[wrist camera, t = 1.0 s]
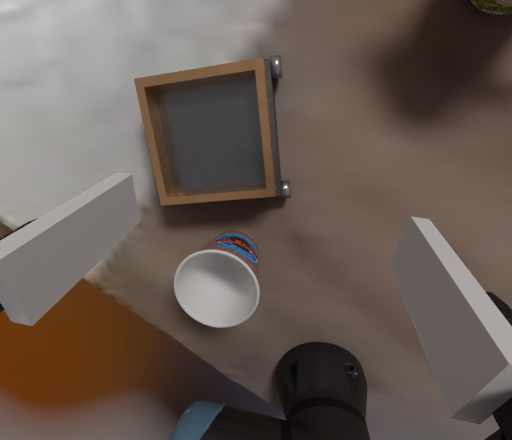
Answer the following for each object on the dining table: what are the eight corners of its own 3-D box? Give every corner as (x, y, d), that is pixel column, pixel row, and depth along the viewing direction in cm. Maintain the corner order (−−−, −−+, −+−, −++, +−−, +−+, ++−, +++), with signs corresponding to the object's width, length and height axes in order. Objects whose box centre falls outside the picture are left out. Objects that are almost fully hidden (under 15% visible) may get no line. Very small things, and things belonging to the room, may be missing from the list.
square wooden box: (290, 194, 38) (290, 204, 32) (179, 203, 41) (159, 214, 35) (280, 60, 33) (278, 42, 27) (155, 80, 36) (127, 68, 30)
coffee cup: (280, 239, 40) (275, 278, 29) (249, 289, 43) (235, 342, 32) (221, 207, 40) (193, 234, 29) (195, 260, 43) (160, 302, 32)
